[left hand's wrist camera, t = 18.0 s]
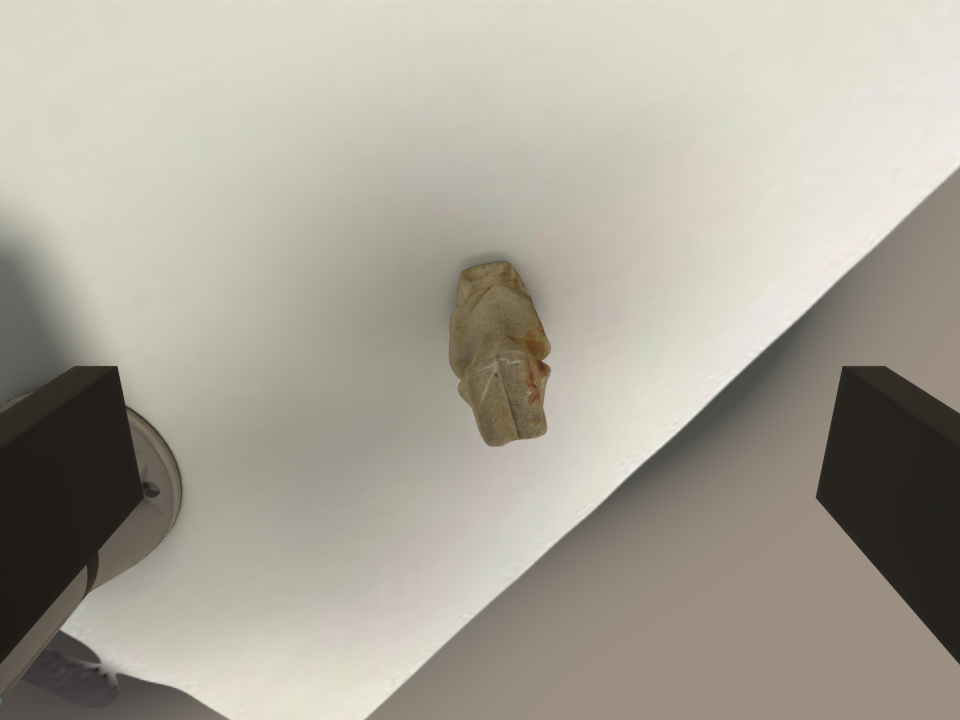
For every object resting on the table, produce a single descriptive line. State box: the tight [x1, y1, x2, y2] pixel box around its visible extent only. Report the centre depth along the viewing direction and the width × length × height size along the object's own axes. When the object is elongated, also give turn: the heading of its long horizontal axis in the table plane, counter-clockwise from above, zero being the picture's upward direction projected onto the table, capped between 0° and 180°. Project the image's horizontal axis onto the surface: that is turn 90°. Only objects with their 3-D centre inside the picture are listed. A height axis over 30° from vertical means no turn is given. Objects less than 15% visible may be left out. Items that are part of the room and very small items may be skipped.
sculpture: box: [449, 262, 551, 446], centre depth 40 cm, size 6×7×15 cm
